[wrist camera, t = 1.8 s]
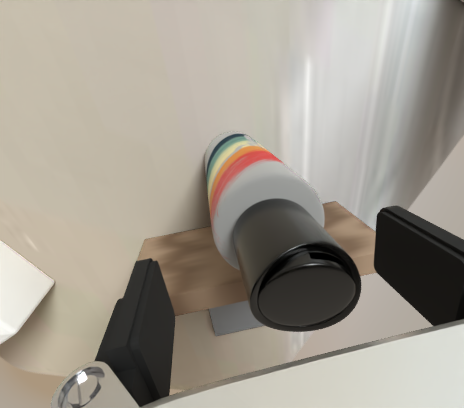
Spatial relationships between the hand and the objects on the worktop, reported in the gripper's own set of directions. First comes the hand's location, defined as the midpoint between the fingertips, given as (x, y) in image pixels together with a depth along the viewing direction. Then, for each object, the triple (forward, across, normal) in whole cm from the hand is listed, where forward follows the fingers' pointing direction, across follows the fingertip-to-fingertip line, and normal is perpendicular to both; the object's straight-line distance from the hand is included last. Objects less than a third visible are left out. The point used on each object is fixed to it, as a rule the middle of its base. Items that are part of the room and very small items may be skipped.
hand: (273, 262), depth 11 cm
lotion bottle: (+17, -1, 0) cm, 17 cm away
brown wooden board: (+17, -1, +8) cm, 19 cm away
